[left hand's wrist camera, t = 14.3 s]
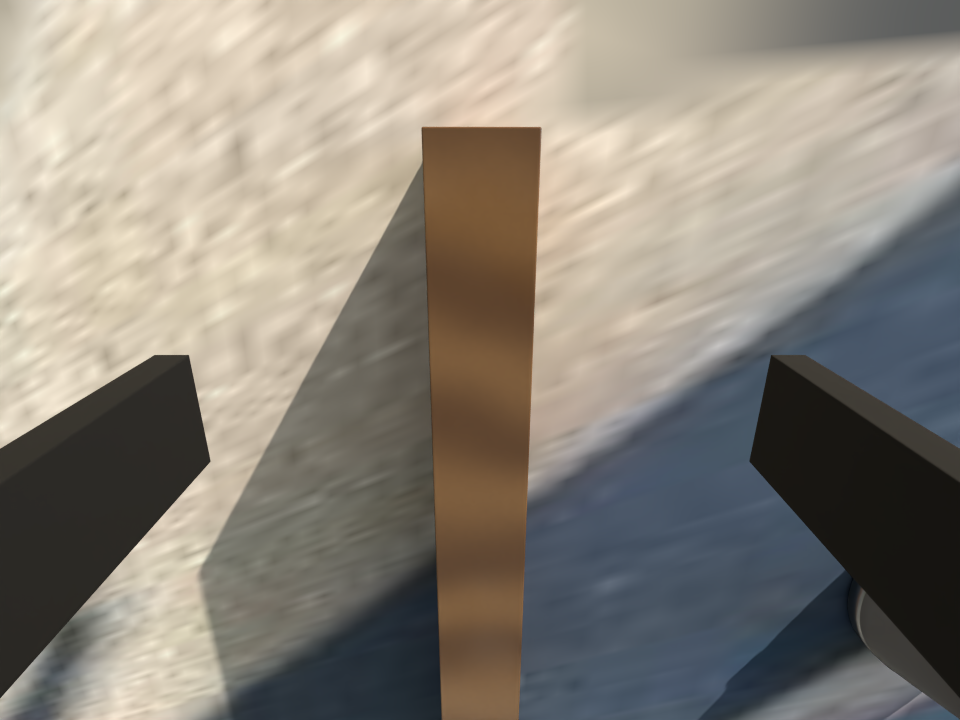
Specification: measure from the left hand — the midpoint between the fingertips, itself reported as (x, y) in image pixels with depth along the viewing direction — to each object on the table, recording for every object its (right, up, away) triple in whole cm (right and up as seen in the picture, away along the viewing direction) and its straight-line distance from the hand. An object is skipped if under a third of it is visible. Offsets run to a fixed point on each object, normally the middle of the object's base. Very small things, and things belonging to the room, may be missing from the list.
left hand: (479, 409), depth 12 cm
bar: (0, -21, +31) cm, 37 cm away
